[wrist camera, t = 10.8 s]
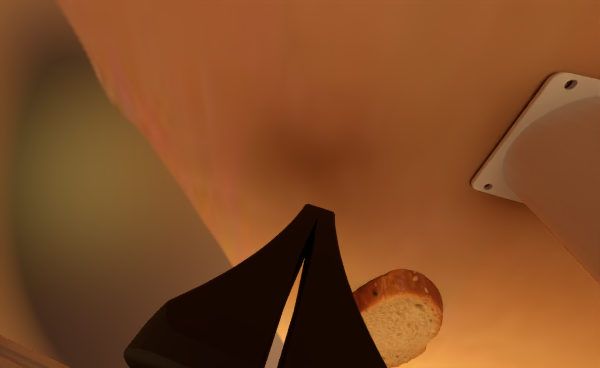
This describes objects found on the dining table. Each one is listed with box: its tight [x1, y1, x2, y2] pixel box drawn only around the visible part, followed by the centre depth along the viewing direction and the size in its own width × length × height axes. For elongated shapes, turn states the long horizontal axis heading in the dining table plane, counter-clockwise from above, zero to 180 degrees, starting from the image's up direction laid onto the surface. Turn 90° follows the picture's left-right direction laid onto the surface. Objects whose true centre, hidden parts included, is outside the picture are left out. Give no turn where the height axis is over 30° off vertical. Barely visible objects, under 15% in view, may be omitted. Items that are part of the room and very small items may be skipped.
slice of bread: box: [353, 269, 443, 368], centre depth 28 cm, size 18×18×4 cm
